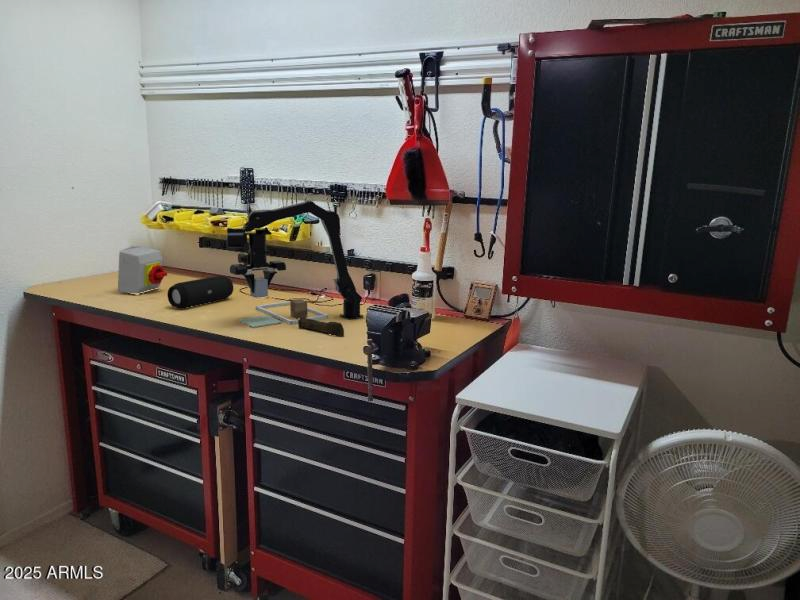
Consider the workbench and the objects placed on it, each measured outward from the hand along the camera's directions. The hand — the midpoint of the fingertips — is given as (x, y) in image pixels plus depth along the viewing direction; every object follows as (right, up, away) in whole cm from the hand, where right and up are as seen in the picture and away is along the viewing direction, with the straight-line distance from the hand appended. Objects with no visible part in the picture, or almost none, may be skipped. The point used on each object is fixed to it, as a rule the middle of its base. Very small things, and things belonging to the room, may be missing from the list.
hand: (259, 291), depth 207 cm
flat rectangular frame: (+8, -8, +15) cm, 19 cm away
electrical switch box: (-60, 0, +47) cm, 76 cm away
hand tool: (+23, -14, -7) cm, 28 cm away
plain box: (+12, -9, +11) cm, 19 cm away
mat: (0, -11, +2) cm, 11 cm away
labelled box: (0, -1, 0) cm, 1 cm away
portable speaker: (-30, -5, +28) cm, 41 cm away
